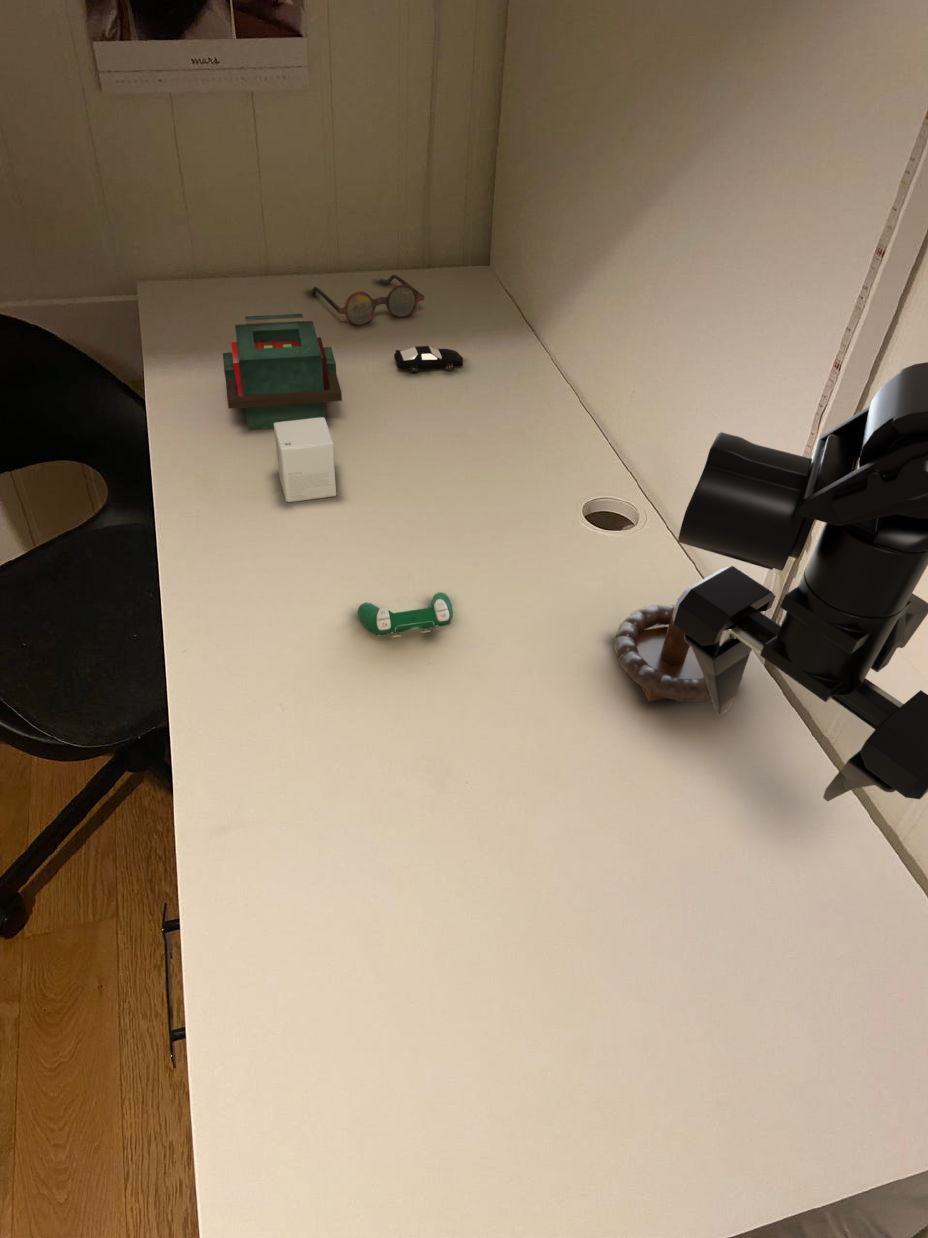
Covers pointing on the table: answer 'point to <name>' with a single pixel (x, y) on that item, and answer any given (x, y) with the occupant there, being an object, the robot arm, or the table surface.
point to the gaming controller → (406, 617)
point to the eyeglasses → (377, 302)
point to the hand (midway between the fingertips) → (773, 752)
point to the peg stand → (668, 654)
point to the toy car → (427, 359)
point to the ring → (640, 667)
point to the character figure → (279, 371)
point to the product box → (305, 459)
